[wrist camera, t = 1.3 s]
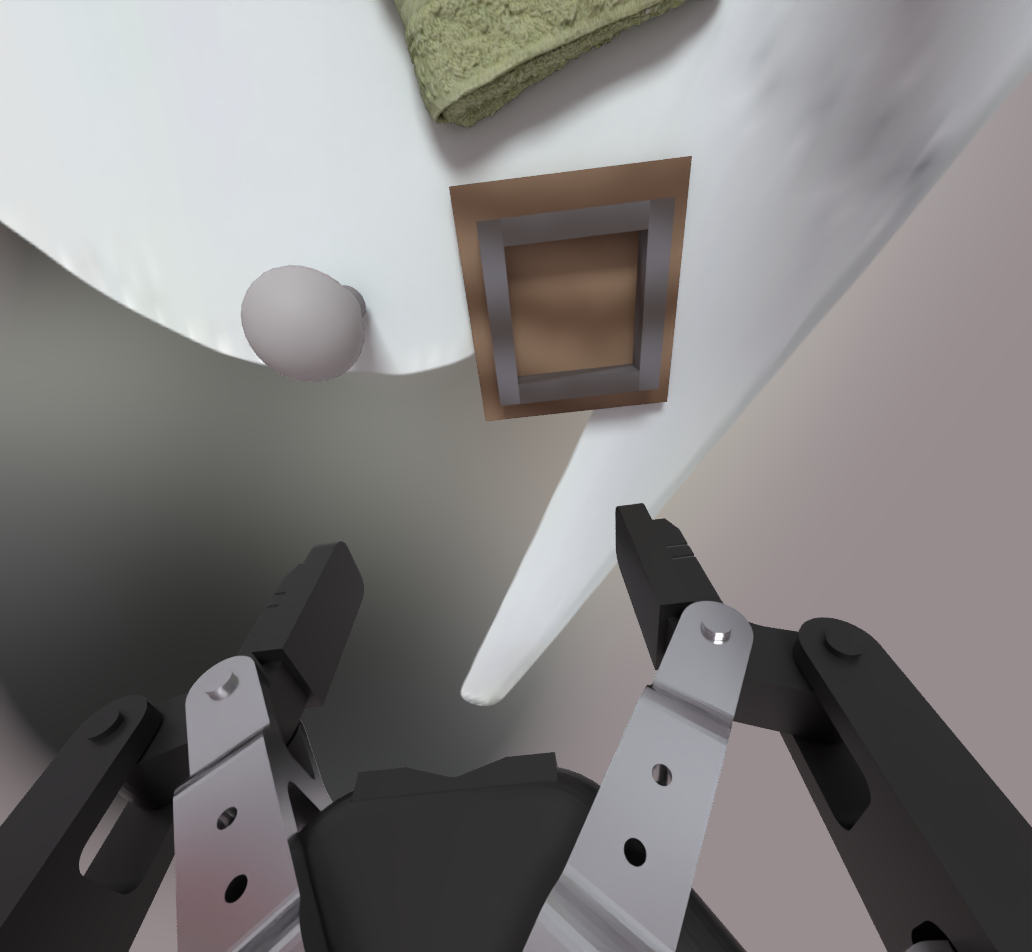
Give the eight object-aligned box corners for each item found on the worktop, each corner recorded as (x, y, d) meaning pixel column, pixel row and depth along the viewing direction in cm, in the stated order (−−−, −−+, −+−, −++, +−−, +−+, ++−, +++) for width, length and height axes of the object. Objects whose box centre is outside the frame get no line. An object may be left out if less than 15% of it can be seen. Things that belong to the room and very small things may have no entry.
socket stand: (450, 187, 26) (445, 184, 24) (685, 158, 26) (705, 151, 23) (486, 416, 35) (485, 431, 32) (662, 397, 34) (675, 411, 32)
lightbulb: (304, 330, 30) (217, 377, 21) (310, 241, 27) (211, 251, 18) (386, 355, 32) (338, 411, 22) (400, 273, 29) (351, 298, 19)
